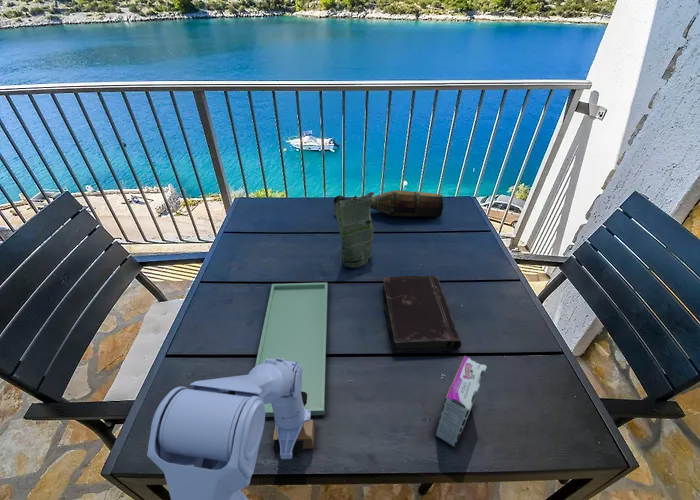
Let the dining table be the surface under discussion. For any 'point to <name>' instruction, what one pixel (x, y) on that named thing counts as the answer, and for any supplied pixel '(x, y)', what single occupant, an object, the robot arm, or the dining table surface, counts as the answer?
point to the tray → (298, 336)
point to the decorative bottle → (405, 203)
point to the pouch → (355, 229)
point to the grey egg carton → (460, 400)
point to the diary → (418, 315)
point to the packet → (303, 434)
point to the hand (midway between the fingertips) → (294, 436)
